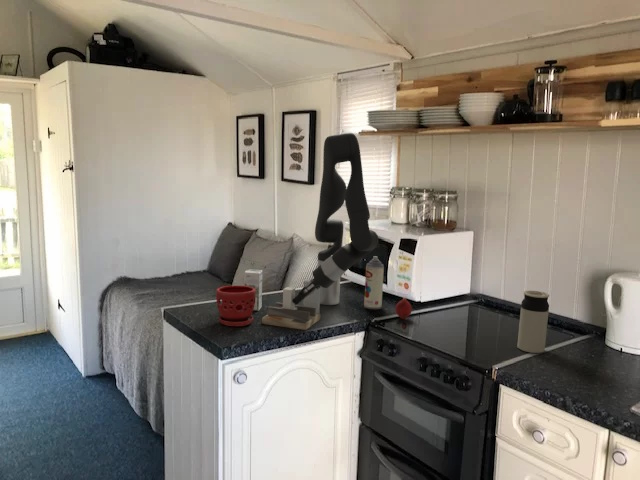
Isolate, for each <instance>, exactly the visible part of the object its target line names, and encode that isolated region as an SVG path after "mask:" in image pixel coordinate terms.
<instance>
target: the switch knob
mask: <svg viewBox="0 0 640 480" xmlns="http://www.w3.org/2000/svg"><path fill="white" fill-rule="evenodd" d="M295 297H296V287H292V286H287V287H285V288H283V289H282V303H283V307H282V308H285V309H292V310H298V308H297V307H295V304H294V303H293V301H292V300H293V299H294V298H295Z"/></svg>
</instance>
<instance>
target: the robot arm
mask: <svg viewBox="0 0 640 480" xmlns="http://www.w3.org/2000/svg"><path fill="white" fill-rule="evenodd" d="M322 155H323V162H322V163H323V165H322V167H323V168H322V176H321V178H322V179H321V183H320V185H321V186H320V190H319V191H320V193H319V202H318V203H319V204H318V214H317V217H316V218H317V219H316V223H315V227H314V228H315V229H314V238H315V239H316V241H317V242H319V243H326V244H327V243H328V244H332V246H330V247H328V248H326V249H324V250H323V249H322V250H321V251H319V252H318V253H317V265H316V266H317V267H316V268H315V269H314V270H312V277H313V278H312V280H310V281H309V282H308V283H307V285H306V286H304V285H303V287H302V288H301V289H300V291H299V292H298V293H297V295H295V298H294V299H293V300H292V301H293V303H294V304H295V305H299V304H300V303H302V301H304V299H305V298H306V297H307V296H310V295H311V294H313V293H314V292H315V291H317V290H318V289H320V305H324V306H334V305H338V304H339V303H340V293H341V292H340V289H341V277H343V275H344V274H345V273H346V272H347V271H348V270H349V269H350V268H351V267H352V266H354V265H355V263H357V262H358V261H359V260H361V259H363V258H364V257H366V256H368V254H370V253H371V252H372V251H374V249H376V247H377V246H378V244H379V235H378V233H377V232H376V231H374V230H372V229H370V226H369V225H370V224H369V220H370V217H371V214H370V210H369V209H370V208H369V205H368V200H367V197H366V196H367V195H366V193H365V186H364V175H363V165H362V157H361V149H360V144H359V140H358V138H357V136H356V134H355V133H353V132H345V133H339V134H333V135H329V136H327V137H326V138H325V139H324V144H323V154H322ZM347 162H349V163H350V177H349V181H348V183H347V185H346V181H345V180H344V179H343V177H342V176H341V175H340V173H339V172H338V171H337V170H336V165H337V164H340V163H347ZM344 203H345V208H346V209H345V210H346V211H347V212H346V213H347V216H348V221H349V223H348V224H349V236H350V238H349V239H350V242H349V243H348V244H345V245H343V237H344V223H343V221H342V220H341V219H335V218H334V219H332V218H331V216H333V215H334V214H335V213H337V211H339V210H340V209H341V208H342V206H343V205H344ZM330 218H331V219H330Z"/></svg>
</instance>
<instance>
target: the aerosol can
mask: <svg viewBox="0 0 640 480" xmlns="http://www.w3.org/2000/svg"><path fill="white" fill-rule="evenodd" d="M378 257H379V256H376V255H375V256H374V255H373V258H372V259H371V260H369V262H368V263H366V266H365V281H364V282H365V283H364V299H363V300H364V301H363V308H365V309H368V310H380V309H382V305H383V304H382V302H383V288H384V286H383V285H384V270H385V267H384V264H383V263H382V261H380V260H379V258H378Z"/></svg>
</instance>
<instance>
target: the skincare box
mask: <svg viewBox="0 0 640 480" xmlns="http://www.w3.org/2000/svg"><path fill="white" fill-rule="evenodd" d="M312 279H313V278H312ZM312 279H308V278H307V279H306V278H304V279H303V287H304V286H306V285H307V283H308V282H309V281H310V280H312ZM302 306H309V307H316V313H319V314H320V311H321V310H320V308H321V307H320V306H321V304H320V289H318V290H317V291H315V292H314V293H313V294H311V295H310V296H307V297H306V298H305V299H303V304H302Z"/></svg>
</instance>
